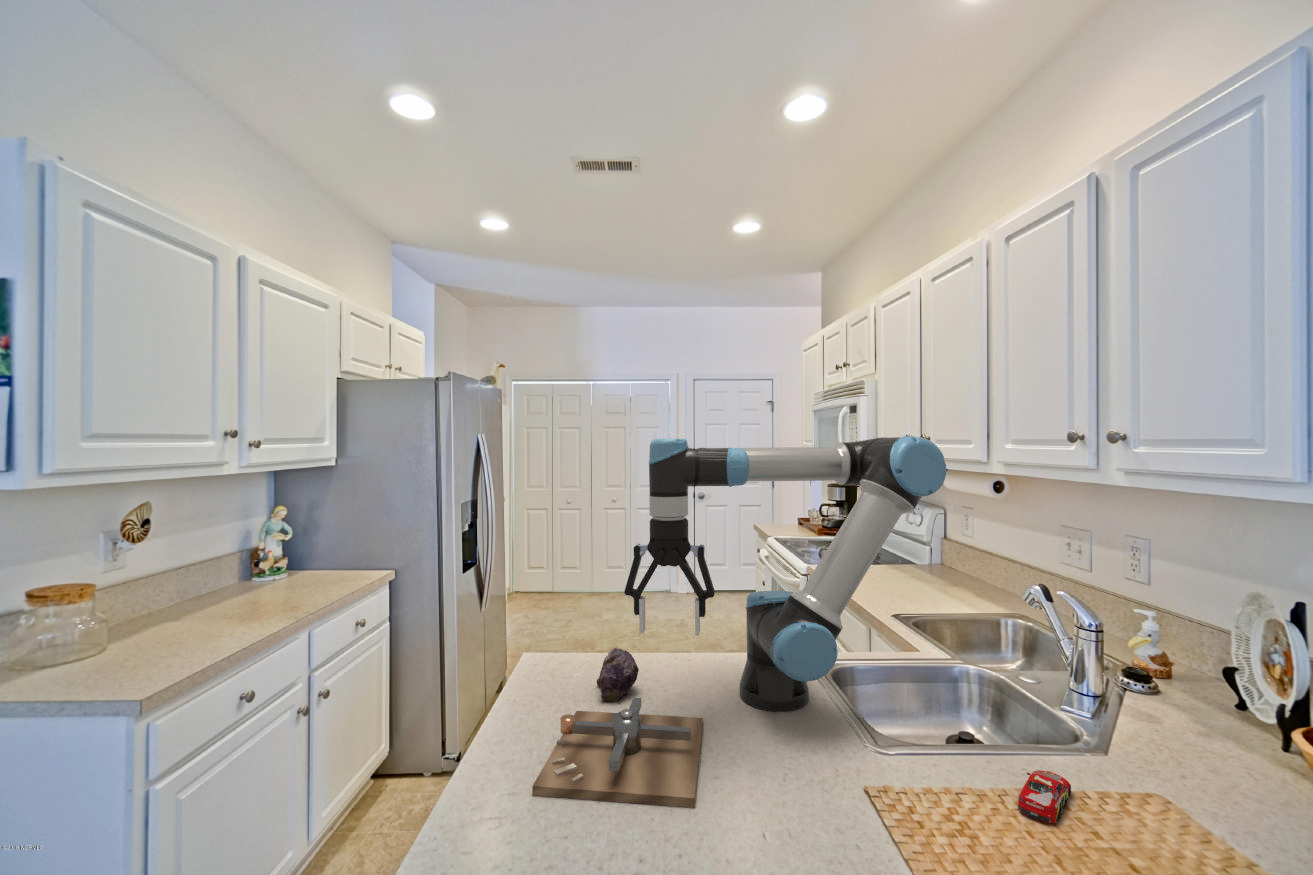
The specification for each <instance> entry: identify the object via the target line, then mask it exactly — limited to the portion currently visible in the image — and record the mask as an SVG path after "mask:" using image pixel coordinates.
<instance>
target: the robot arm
mask: <svg viewBox="0 0 1313 875" xmlns="http://www.w3.org/2000/svg"><path fill="white" fill-rule="evenodd" d="M648 457H649V460H648V475H649V476H648V477H649V479H648V480H649V481H648V482H649V497H648V498H649V500H648V501H649V516H650V517H652V518H650V520H649V542H648V544H640V543H637V544H635V545H634V546H633V560H632V563H631V567H630V570H629V574H628V578H627V582H626V585H625V588H624V595H625V596H629V597H631V598H632V599H633V613H634V616H639V617H638V618H639V620H638V621H639V627H638V628H639V634H640V635H641V634H642V635H643V634H644V633H645V631H646V596H645V595H642V593H644V592H643V591H644V590H645V589H646V586H647V584H648V583H649V581H650V579H651V578H652V577H653V575H654V573H655V571H656V569H657V567H658V565H659V566H660V567H667V566H670V567H673V568H674V567H676V568H677V567H678V566H679V568H680V570H681V571H682V572H683V574H684V576H685V577H686V579H687V580H688V582H689V584H690V586H691V588H692V589H693V591H694V593H695V595H696V597H695V600H694V635H695V636H696V637H697V636H698V637H699V636H700V632H701V622H700V621H701V618H705V616H706V614H707V613H706V612H707V611H706V604H707V603H706V600H708V599H710V598H712V599H713V598H714V597H715V593H716V590H715V588H714V585H713V581H712V577H711V575H710V571H709V568H708V563H707V561H706V559H705V558H706V557H705V551H706V550H705V545H704V544H700V545H695V544H694V545H692V544H691V543H690V541H689V520H688V518H686V517H687V516H688V515H689V492H688V491H689V487H693V488H695V487H729V488H731V487H732V488H733V487H739V486H744V485H746V484H747V482H814V481H815V482H816V481H819V482H820V481H821V482H823V481H824V482H825V481H826V482H827V481H834V482H835V483H836V484H837V485H840V486H844V485H845V486H849V485H850V486H860V489H861V494H860V495H859V496H858V498H857V500H856V502H855V504H854V505H853V506H852V508H851V510H850V512H849V513H848V515H847V516H846V518H845V520H844V521H843V523H842V525H841V526H840V528H839V530H838V532H837V533H836V535H834V538H833V539H832V540H831V542H830V545H829V546H828V548H827V549H826V551H825V552H824V554H823V555H822V557H821V559H820V560H819V562H818V564H817V565H816V567H815V568H814V570H813V572H812V573H811V575H810V577H809V579H808V580H807V582H806V584H805V585H804V587H803V588H802V590H800V591H797V592H794V591H793V592H792V591H785V590H761V591H758V590H757V591H753V592H751V593H749V594H748V595H747V596H746V606H745V610H746V660H745V661H746V662H745V665H744V668H743V672H742V674H741V677H740V678H741V679H740V680H739V697H740V699H741V700H742V701H743V702H745V703H746V704H747V705H749V706H752V707H754V708H758V709H760V710H765V711H770V712H771V711H772V712H789V711H795V710H798V709H801V708H804V707H805V706H806V705H807V704H808V703H809V700H810V697H809V696H810V694H809V693H810V690H809V686H808V682H813V681H817V680H820V679H822V678H823V677H825V676H826V675H828V673H830V671H831V670H832V669H833V667H834V666H835V664H836V662H837V659H838V654H839V653H838V651H839V650H838V645H837V641H836V640H837V638H838V637H839V635H840V634H841V632H842V631H843V628H844V627H843V623H842V620H841V615H842V614H843V613H844V611H845V609H846V607H847V605H848V604H849V602H850V600H851V599H852V597H853V595H854V594H855V592H856V591H857V589H858V587H859V585H860V584H861V582H862V580H863V579H864V577H865V576H866V574H867V572H868V570H869V569H870V568H871V566H872V564H873V562H874V561H875V559H876V557H877V556H878V554H879V552H880V551H881V549H882V547H883V546H884V544H885V542H886V541H887V539H888V538H889V536H890V534H891V533H892V531H893V530H894V527H895V526H896V524H897V522H898V521H899V520H900V517H901V516H902V515H904V514H908V513H913V512H914V510H915V509H916V508H917V506H918V504H919V502H920V500H921V499H922V498H923V497H928V496H930V495H932V494H935V493H936V492H937V491H939V490H940V489H941V487H942V486H943V485H944V484H945V480H946V476H947V463H946V462H945V456H944V454H943V451H942V450H941V449H940V448H939V446H937V445H936V444H935V443H934V442H933V441H931V440H929V439H927V438H925V437H920V436H913V435H904V436H901V437H900V436H899V437H895V436H894V437H877V438H876V437H875V438H871V439H864V440H858V441H849V442H837V443H835V444H834V446H818V447H817V446H814V447H813V446H812V447H811V446H810V447H809V446H808V447H807V446H805V447H804V446H802V447H798V446H796V447H795V446H794V447H793V446H792V447H698V448H692V447H689V445H688V439H686V438H654V439H653V440H652V441H650V444H649V456H648ZM647 551H648V552H649V554H650V555H651V557H652V559H653V560H652V562H651V563H650V566H649V567H648V569H647V570H646V572H645V574H644V576H643V577H642V579H641V581H640V582H639V585H638V586H637V588H634V587H635V582H636V578H637V575H638V572H639V570H640V569H639V568H640V564H641V562H642V557H644V556H645V555H646V552H647ZM690 552H692V553H693V556H694V558H697V563H698V567H699V570H700V573H701V576H702V579H703V583H704V587H705V589H706V590H704V589H703V587H702V585H701V584H700V582H699V580H698V579H697V577H696V575H695V573H694V571H693V570H692V567H691V566H690V564H689V561H687V556H688V555H689V553H690Z"/></svg>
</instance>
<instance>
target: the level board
mask: <svg viewBox="0 0 1313 875" xmlns="http://www.w3.org/2000/svg"><path fill="white" fill-rule="evenodd" d="M616 713H617V712H606V711H588V710H587V711H586V710H575V713H574V716H575V720H576V721H593V722H610V723H613V716H614V715H615V714H616ZM639 714H640V716H641V724H644V725H661V726H679V727H691V741H684V740H668V739H652V738H641V750H640V751H639V752H638V753H636V754H634V755H629V756H624V758H623V761H622V763H621V766H620V769H619V771H609V759H610V756H611V754H612V751H613V736H603V735H587V734H569V735H564V734H561V736H560V738H558V739H557V740H556V745H555V747H554V749H553V751H551V754H550V755H549V757H548V759H547V760H546V761H545V764H544V766H543V767H542V768H541V771H540V772H539V774H538V776H537V777H536V779H535V781H534V782H533V784H532V786H531V788H532V789H531V793H532V796H535V797H537V796H538V797H549V798H550V797H551V798H562V799H572V800H573V799H574V800H575V799H576V800H588V801H589V800H590V801H600V802H601V801H602V802H611V803H612V802H615V803H627V804H640V805H652V806H667V807H676V808H677V807H679V808H692V809H695V808H696V799H697V787H698V778H699V768H700V759H701V748H702V739H703V728H704V717H693V716H677V715H661V714H660V715H659V714H658V715H657V714H641V713H639Z"/></svg>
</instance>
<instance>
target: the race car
mask: <svg viewBox="0 0 1313 875" xmlns="http://www.w3.org/2000/svg"><path fill="white" fill-rule="evenodd" d="M1026 775H1028V778H1027V780H1026V782H1025V783H1024V784H1023V787H1022V788H1021V790H1020V792H1019V795H1018V800H1017V803H1018V804H1017V808H1018V810H1019V812H1021V813H1023V814H1024V815H1027V816H1029V817H1031V818H1034V819H1037V820H1038V821H1039V820H1040V821H1042V822H1045V823H1048V824H1057V823H1059V821H1060V819H1061V816H1062V815H1063V812H1064V810H1065V808H1066V806H1067V803H1068V801H1069V799H1070V797H1071V793H1072V785H1071V783H1070V782H1069V781H1068V780H1067V779H1066V778H1064V777H1063V776H1061V775H1059V774H1058V773H1055V772H1052V771H1048V770H1038V769H1037V770H1033V771H1032V772H1031V773H1030V772H1026Z"/></svg>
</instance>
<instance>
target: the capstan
mask: <svg viewBox="0 0 1313 875" xmlns="http://www.w3.org/2000/svg"><path fill="white" fill-rule="evenodd" d="M641 709H642V697H632V700H631V703H630V705H629V708H627V709H626V708H625V709H622V710H621V711H619V712H615V713H616V714H615V715H614V716H613V723H610V722H593V721H576V720H575V716H574V715H573V714H563V715H562V716H561V717H560V733H561V735H563V734H564V735H569V734H587V735H603V736H613V751H612V754H611V756H610V759H609V771H619V769H620V766H621V763H622V761H623V758H624V756H629V755H634V754H636V753H638V752H639V751H640V750H641V738H652V739H668V740H684V741H691V727H679V726H661V725H644V724H641V716H640V714H641V713H640V711H641Z"/></svg>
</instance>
